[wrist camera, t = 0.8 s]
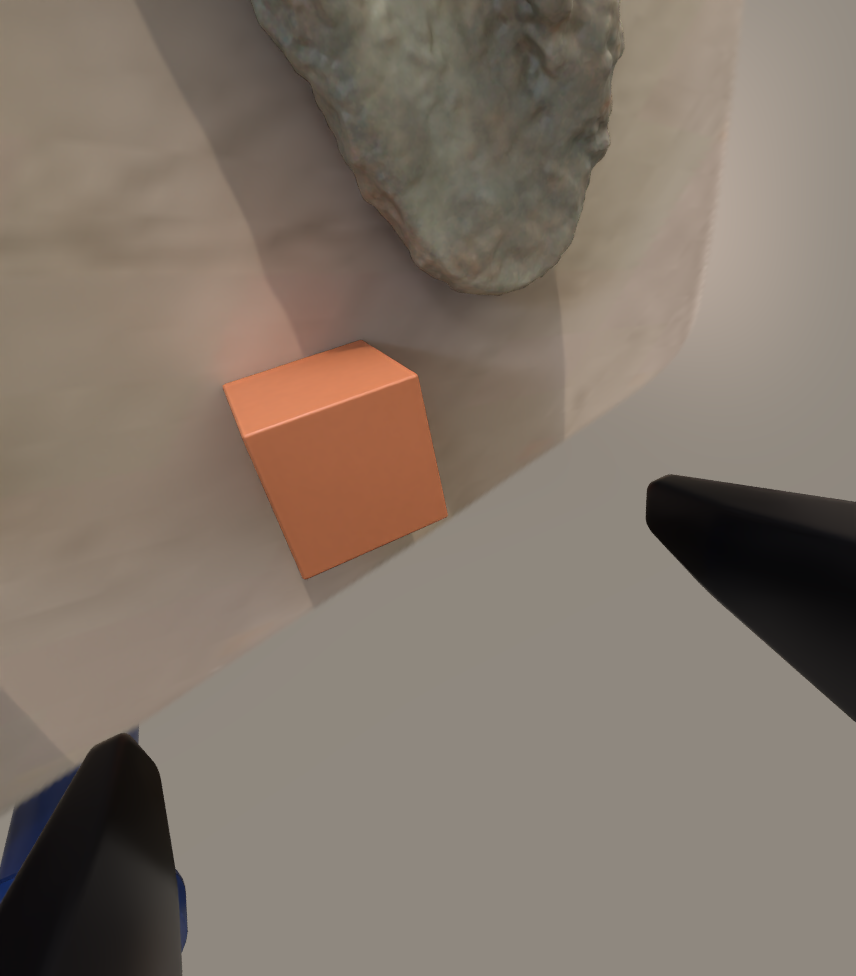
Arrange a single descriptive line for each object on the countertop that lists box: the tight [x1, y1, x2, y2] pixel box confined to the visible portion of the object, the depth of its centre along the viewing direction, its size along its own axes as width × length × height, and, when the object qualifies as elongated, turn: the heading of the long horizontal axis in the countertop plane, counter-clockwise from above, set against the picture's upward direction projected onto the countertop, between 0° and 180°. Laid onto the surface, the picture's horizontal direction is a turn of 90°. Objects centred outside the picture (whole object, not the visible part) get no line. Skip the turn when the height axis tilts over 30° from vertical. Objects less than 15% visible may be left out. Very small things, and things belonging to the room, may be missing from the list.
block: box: [223, 340, 448, 579], centre depth 17 cm, size 5×5×5 cm
